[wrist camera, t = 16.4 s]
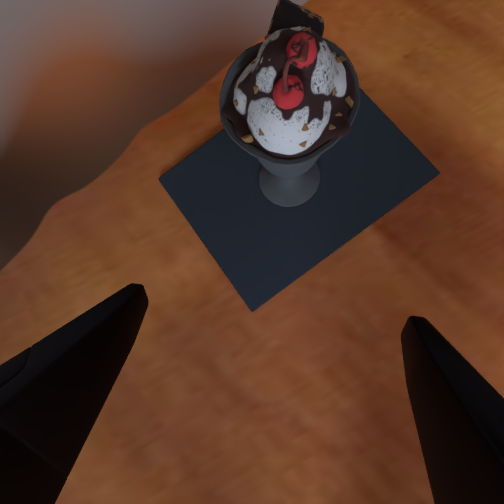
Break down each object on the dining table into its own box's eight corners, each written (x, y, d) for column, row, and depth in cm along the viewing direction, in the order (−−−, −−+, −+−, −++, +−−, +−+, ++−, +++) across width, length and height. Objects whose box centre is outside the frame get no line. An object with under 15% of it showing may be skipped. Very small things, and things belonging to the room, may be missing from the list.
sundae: (293, 234, 23) (297, 135, 8) (232, 182, 24) (141, 14, 9) (349, 173, 23) (453, -37, 8) (285, 124, 24) (277, -133, 9)
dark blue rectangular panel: (439, 173, 22) (440, 172, 22) (252, 311, 23) (252, 312, 23) (324, 52, 25) (325, 51, 25) (159, 179, 25) (158, 178, 25)
